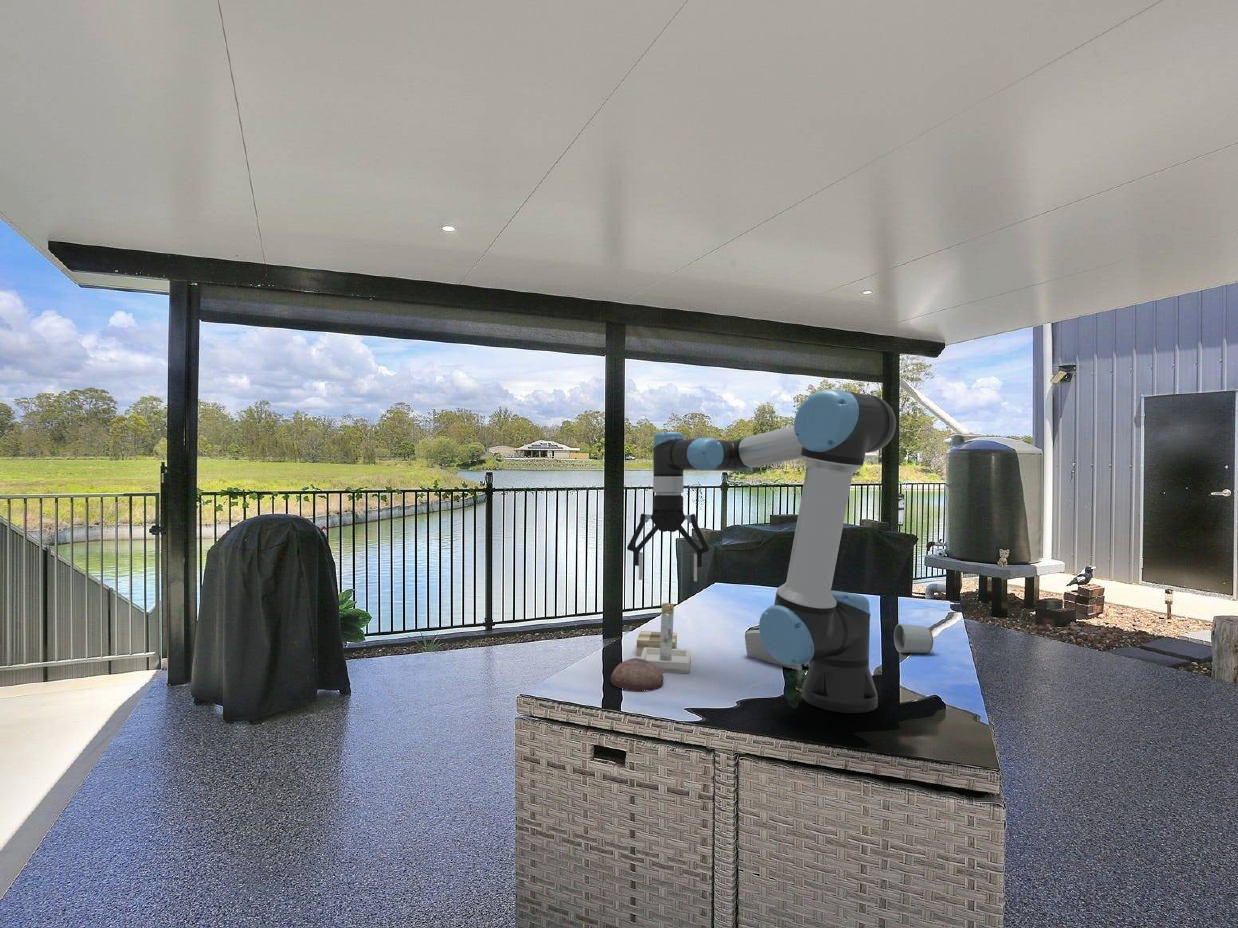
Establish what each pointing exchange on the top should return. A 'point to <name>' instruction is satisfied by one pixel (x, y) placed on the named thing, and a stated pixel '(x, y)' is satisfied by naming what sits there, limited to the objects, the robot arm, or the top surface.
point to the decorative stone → (637, 675)
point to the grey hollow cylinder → (913, 639)
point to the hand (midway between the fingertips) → (667, 579)
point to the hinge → (763, 649)
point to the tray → (677, 664)
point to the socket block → (652, 641)
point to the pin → (666, 632)
